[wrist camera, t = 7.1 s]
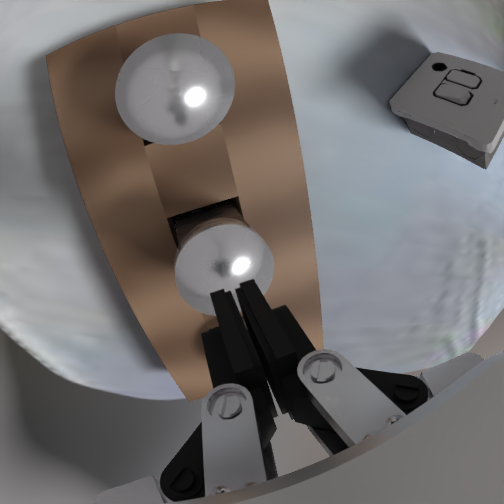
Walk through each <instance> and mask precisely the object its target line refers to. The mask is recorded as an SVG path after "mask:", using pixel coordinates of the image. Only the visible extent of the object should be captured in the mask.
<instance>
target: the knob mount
mask: <svg viewBox="0 0 504 504" xmlns="http://www.w3.org/2000/svg"><path fill="white" fill-rule="evenodd" d="M175 33H184V34H191V35H196V36H199V37H202V38H204V39H206V40H208V41H210V42H211V43H213V44H214V45H216V46H217V47H218V48H219V49H220V50H221V51H222V52H223V53H224V54H225V56H226V57H227V59H228V60H229V62H230V65H231V67H232V70H233V73H234V79H235V91H234V97H233V101H232V104H231V106H230V109H229V110H228V112H227V114H226V116H225V117H224V118H223V120H222V121H221V122H220V123H219V124H218V125H217V126H216V127H215V128H214V129H213V130H212V131H210V132H209V133H207V134H206V135H204V136H203V137H201V138H199V139H197V140H194V141H191V142H188V143H184V144H177V145H164V144H157V143H153V142H149V141H148V140H145V139H143V138H141V137H140V136H138V135H136V134H135V133H134V132H133V131H131V130H130V129H129V127H128V126H127V125H126V124H125V123H124V121H123V120H122V118H121V116H120V114H119V112H118V109H117V106H116V100H115V87H116V81H117V77H118V75H119V72H120V70H121V68H122V66H123V64H124V63H125V61H126V60H127V59H128V57H129V56H130V55H131V54H132V53H133V52H134V51H135V50H136V49H137V48H139V47H140V46H141V45H143V44H144V43H146V42H148V41H150V40H152V39H154V38H156V37H159V36H162V35H167V34H175ZM46 61H47V67H48V73H49V79H50V84H51V89H52V94H53V99H54V104H55V108H56V112H57V116H58V121H59V124H60V128H61V132H62V136H63V140H64V143H65V147H66V150H67V153H68V157H69V160H70V163H71V166H72V169H73V173H74V176H75V179H76V182H77V184H78V187H79V190H80V193H81V196H82V199H83V201H84V204H85V207H86V209H87V212H88V214H89V217H90V220H91V222H92V225H93V227H94V229H95V232H96V234H97V237H98V239H99V241H100V244H101V246H102V248H103V251H104V253H105V255H106V257H107V259H108V262H109V264H110V266H111V268H112V270H113V272H114V274H115V276H116V279H117V281H118V283H119V285H120V287H121V289H122V291H123V293H124V295H125V297H126V299H127V300H128V302H129V304H130V306H131V308H132V310H133V312H134V314H135V316H136V317H137V319H138V321H139V323H140V325H141V326H142V328H143V330H144V332H145V333H146V335H147V337H148V339H149V340H150V342H151V344H152V345H153V347H154V349H155V350H156V352H157V354H158V355H159V357H160V359H161V360H162V362H163V363H164V365H165V367H166V368H167V370H168V371H169V373H170V374H171V376H172V378H173V379H174V381H175V382H176V384H177V385H178V387H179V388H180V390H181V391H182V393H183V394H184V395H185V397H186V398H187V400H188V401H193V400H197V399H201V398H204V397H205V396H206V395H207V394H208V393H209V392H210V391H211V390H212V389H213V385H212V381H211V377H210V373H209V369H208V364H207V360H206V356H205V351H204V347H203V342H202V338H201V333H204V332H207V331H210V330H213V328H215V327H218V326H219V324H218V320H217V317H216V316H213V315H208V314H204V313H202V312H199V311H197V310H195V309H194V308H192V307H191V306H190V305H188V304H187V303H186V302H185V301H184V299H183V298H182V297H181V295H180V293H179V291H178V288H177V285H176V279H175V268H174V260H175V254H176V251H177V248H178V238H177V232H176V229H175V226H174V223H173V220H172V216H175V215H179V214H182V213H185V212H188V211H191V210H194V209H197V208H201V207H204V206H207V205H210V204H214V203H217V202H220V201H224V200H227V199H230V201H231V203H232V204H233V206H234V207H235V208H236V209H237V211H238V212H239V213H240V215H241V216H242V217H243V218H244V220H245V221H246V222H247V223H248V225H250V226H251V227H252V228H253V229H255V230H256V232H257V233H258V234H259V235H260V236H261V238H262V239H263V240H264V241H265V242H266V244H267V245H268V247H269V248H270V250H271V253H272V255H273V259H274V275H273V279H272V282H271V284H270V286H269V288H268V290H267V291H266V293H265V294H264V295H263V296H264V297H265V299H266V301H267V303H268V304H269V306H270V308H271V309H274V308H277V307H280V306H282V305H286V306H287V307H288V308H289V310H290V311H291V313H292V314H293V316H294V317H295V319H296V320H297V322H298V323H299V325H300V326H301V328H302V329H303V331H304V332H305V334H306V335H307V337H308V338H309V340H310V341H311V343H312V344H313V346H314V347H315V349H316V350H322V349H324V345H323V330H322V316H321V304H320V292H319V281H318V271H317V262H316V253H315V244H314V235H313V227H312V220H311V212H310V205H309V198H308V191H307V184H306V177H305V171H304V165H303V159H302V153H301V147H300V141H299V136H298V130H297V125H296V119H295V114H294V109H293V104H292V99H291V94H290V89H289V84H288V80H287V75H286V71H285V66H284V62H283V57H282V53H281V49H280V45H279V41H278V37H277V33H276V29H275V25H274V21H273V17H272V13H271V10H270V6H269V2H268V0H222V1H215V2H208V3H202V4H196V5H190V6H185V7H180V8H175V9H171V10H167V11H162V12H158V13H154V14H151V15H147V16H143V17H140V18H137V19H133V20H130V21H127V22H124V23H121V24H118V25H115V26H112V27H109V28H107V29H104V30H101V31H99V32H96V33H94V34H91V35H89V36H86V37H84V38H82V39H79V40H77V41H75V42H73V43H71V44H68V45H66V46H64V47H62V48H60V49H58V50H56V51H54V52H52V53H50V54H48V55H46ZM240 314H241V317H242V318H243V315H242V311H241V312H240Z"/></svg>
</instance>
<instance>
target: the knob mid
mask: <svg viewBox="0 0 504 504" xmlns="http://www.w3.org/2000/svg"><path fill="white" fill-rule="evenodd" d="M176 229H177V238H178V248H177V251H176V254H175V260H174V268H175V279H176V285H177V288H178V291H179V293H180V295H181V297H182V298H183V299H184V301H185V302H186V303H187V304H188V305H190V306H191V307H192V308H194V309H195V310H197V311H199V312H202V313H204V314H208V315H213V316H216V314H215V310H214V307H213V303H212V300H211V296H210V293H212V292H215V291H218V290H221V289H224V291H225V292H227V291H231V293H232V295H233V298H234V300H235V302H236V305H237V307H238V310H239V312H241V308H240V305H239V301H238V298H237V295H236V291H235V289H236V288H239V287H240V285H239V283H242V282H245V281H248V280H251V279H254V280H255V282H256V284H257V285H258V287H259V289H260V291H261V292H262V294H263V295H264V294H265V293H266V291H267V290H268V288H269V286H270V284H271V282H272V279H273V275H274V259H273V255H272V253H271V250H270V248H269V247H268V245H267V244H266V242H265V241H264V240H263V239H262V238H261V236H260V235H259V234H258V233H257V232H256V230H255V229H253V228H252V227H251V226H250V225H248V223H247V222H246V221H245V220H244V218H243V217H242V216H241V215H240V213H239V212H238V211H237V209H236V208H235V207H234V206H233V204H232V203H228V204H225V205H222V206H218V207H215V208H212V209H208V210H205V211H202V212H199V213H196V214H193V215H189V216H186V217H183V218H180V219H177V220H176Z"/></svg>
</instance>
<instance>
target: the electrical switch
mask: <svg viewBox="0 0 504 504" xmlns="http://www.w3.org/2000/svg"><path fill="white" fill-rule="evenodd" d="M389 103H390V106H391V111H392V112H393V113H394V114H396V115H398V116H400V117H404V120H405V121H406V123H407V125H408V128H409V130H410V133H412V134H414V135H416V136H419V137H421V138H423V139H425V140H428V141H430V142H432V143H434V144H437V145H439V146H441V147H443V148H445V149H447V150H449V151H451V152H453V153H455V154H457V155H459V156H461V157H463V158H465V159H467V160H469V161H470V162H472V163H474V164H476V165H478V166H480V167H481V168H483V169H484V168H485V169H487V167H488V165H489V163H490V162H491V160H492V158H493V156H494V154H495V152H496V150H497V148H498V147H499V145H500V143H501V141H502V139H503V137H504V72H503V71H500V70H497V69H494V68H492V67H489V66H486V65H483V64H480V63H477V62H473V61H470V60H467V59H463V58H459V57H456V56H452V55H448V54H444V53H439V52H437V53H432V54H430V55H429V57H428V58H427V59H426V60H425V61H424V62H423V63H422V64H421V66H420V67H419V68H418V69H417V70H416V71H415V72H414V74H413V75H412V76H411V77H410V78H409V79H408V80H407V81H406V83H405V84H404V85H403V86H402V87H401V88H400V89H399V91H398V92H397V93H396V94H395V95H394V96H393V97H392V98H391V100H390V101H389ZM434 131H435V133H434ZM456 137H457V138H456Z"/></svg>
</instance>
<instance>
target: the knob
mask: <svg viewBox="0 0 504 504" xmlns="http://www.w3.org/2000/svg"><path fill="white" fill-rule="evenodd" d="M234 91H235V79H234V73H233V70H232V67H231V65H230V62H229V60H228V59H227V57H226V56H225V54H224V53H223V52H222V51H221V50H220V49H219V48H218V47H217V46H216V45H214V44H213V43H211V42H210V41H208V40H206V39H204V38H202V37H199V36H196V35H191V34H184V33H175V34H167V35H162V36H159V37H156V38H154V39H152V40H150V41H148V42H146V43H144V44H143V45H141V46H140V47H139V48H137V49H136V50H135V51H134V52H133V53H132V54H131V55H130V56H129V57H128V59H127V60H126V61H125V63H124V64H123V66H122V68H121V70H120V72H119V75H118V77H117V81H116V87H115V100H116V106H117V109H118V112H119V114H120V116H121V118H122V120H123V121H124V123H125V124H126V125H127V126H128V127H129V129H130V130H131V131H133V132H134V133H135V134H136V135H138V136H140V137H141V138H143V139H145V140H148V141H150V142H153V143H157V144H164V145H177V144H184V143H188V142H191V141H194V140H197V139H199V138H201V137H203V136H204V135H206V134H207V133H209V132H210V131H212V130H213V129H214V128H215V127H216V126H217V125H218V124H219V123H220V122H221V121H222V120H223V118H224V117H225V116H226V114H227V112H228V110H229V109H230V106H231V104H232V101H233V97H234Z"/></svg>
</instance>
